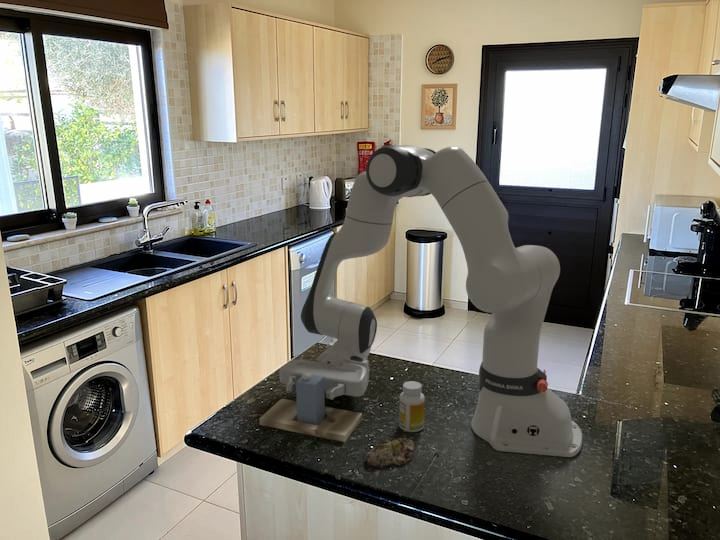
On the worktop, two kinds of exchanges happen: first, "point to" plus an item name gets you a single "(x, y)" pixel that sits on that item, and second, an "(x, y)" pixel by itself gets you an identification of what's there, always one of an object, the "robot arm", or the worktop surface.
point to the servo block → (310, 399)
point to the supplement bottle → (411, 407)
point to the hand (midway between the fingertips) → (308, 392)
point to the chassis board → (337, 429)
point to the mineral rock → (391, 452)
